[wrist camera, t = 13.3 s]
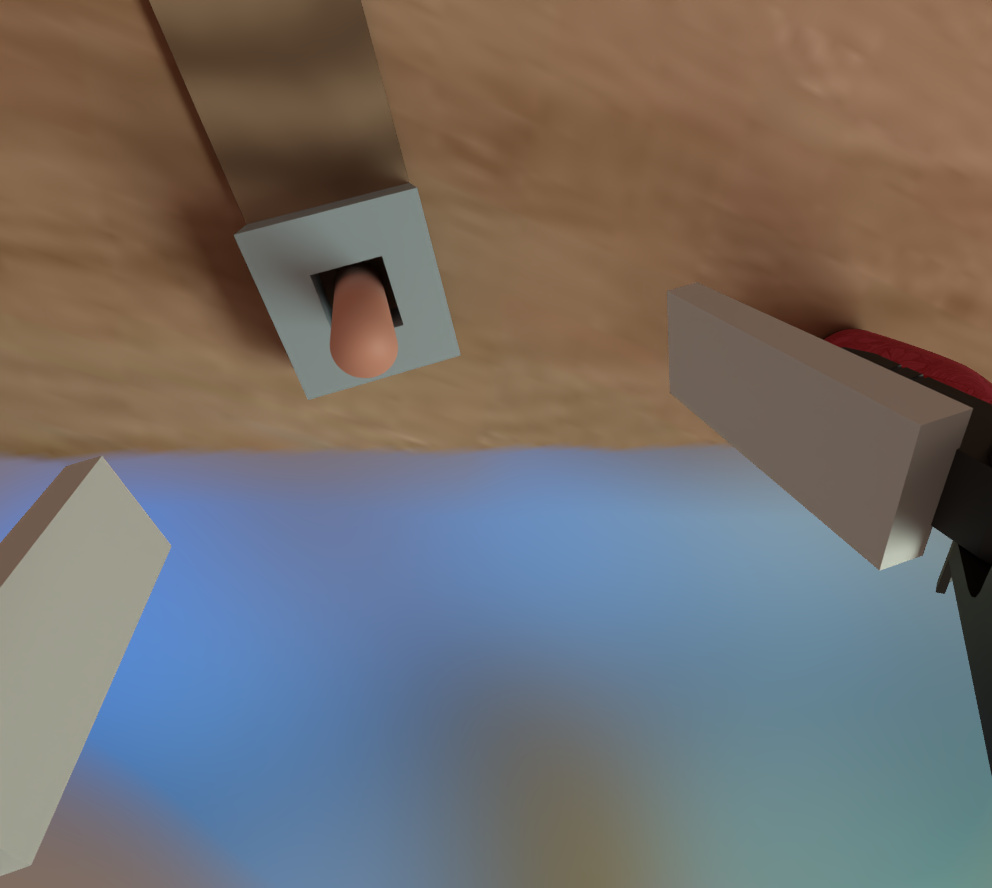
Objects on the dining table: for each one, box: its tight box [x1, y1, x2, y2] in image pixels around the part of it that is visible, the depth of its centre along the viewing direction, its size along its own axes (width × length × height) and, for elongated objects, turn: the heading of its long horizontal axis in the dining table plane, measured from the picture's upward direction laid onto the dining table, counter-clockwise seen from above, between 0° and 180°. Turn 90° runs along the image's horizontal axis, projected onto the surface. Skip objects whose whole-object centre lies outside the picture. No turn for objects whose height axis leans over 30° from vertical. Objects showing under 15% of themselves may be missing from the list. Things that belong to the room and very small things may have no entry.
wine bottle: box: [824, 329, 992, 404], centre depth 45 cm, size 10×10×30 cm
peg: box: [330, 261, 398, 378], centre depth 35 cm, size 4×4×15 cm
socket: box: [234, 183, 460, 400], centre depth 39 cm, size 12×12×5 cm
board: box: [149, 0, 409, 310], centre depth 37 cm, size 30×12×1 cm, turn 12°
